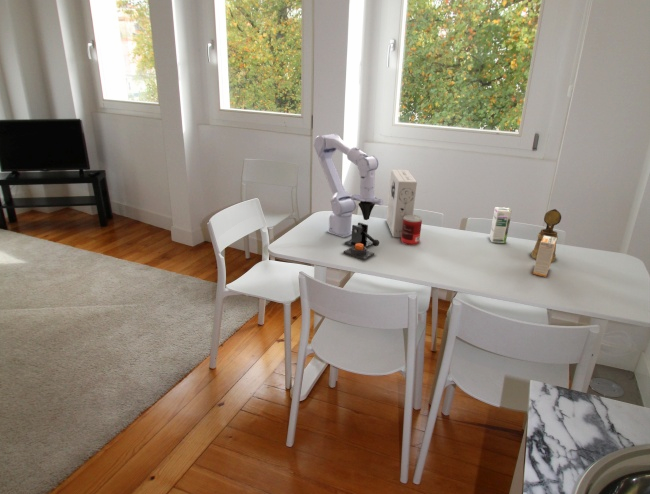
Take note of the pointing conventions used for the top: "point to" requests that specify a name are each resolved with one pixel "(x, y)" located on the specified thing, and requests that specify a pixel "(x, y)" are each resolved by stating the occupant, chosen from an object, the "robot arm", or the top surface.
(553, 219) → the brass disc-topped stand
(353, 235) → the bracket
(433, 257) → the top surface
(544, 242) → the supplement box
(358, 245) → the button
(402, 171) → the cereal box
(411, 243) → the canned food
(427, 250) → the top surface
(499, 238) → the syrup box
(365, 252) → the control block
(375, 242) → the lever
